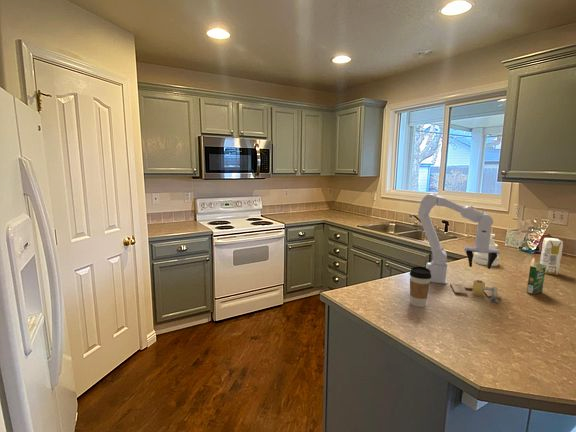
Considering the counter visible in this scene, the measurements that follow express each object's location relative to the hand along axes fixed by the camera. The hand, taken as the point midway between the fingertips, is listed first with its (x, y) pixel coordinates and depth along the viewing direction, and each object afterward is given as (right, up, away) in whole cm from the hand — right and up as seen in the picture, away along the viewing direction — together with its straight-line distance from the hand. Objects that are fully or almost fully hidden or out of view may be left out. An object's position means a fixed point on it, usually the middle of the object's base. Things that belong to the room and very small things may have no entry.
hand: (479, 267), depth 151 cm
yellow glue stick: (-5, -11, -7) cm, 14 cm away
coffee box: (+23, -11, -4) cm, 26 cm away
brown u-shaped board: (-5, -11, -5) cm, 13 cm away
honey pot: (+30, -4, +43) cm, 53 cm away
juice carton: (+55, -7, +27) cm, 62 cm away
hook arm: (-4, -12, -14) cm, 19 cm away
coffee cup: (-37, -12, -19) cm, 44 cm away
